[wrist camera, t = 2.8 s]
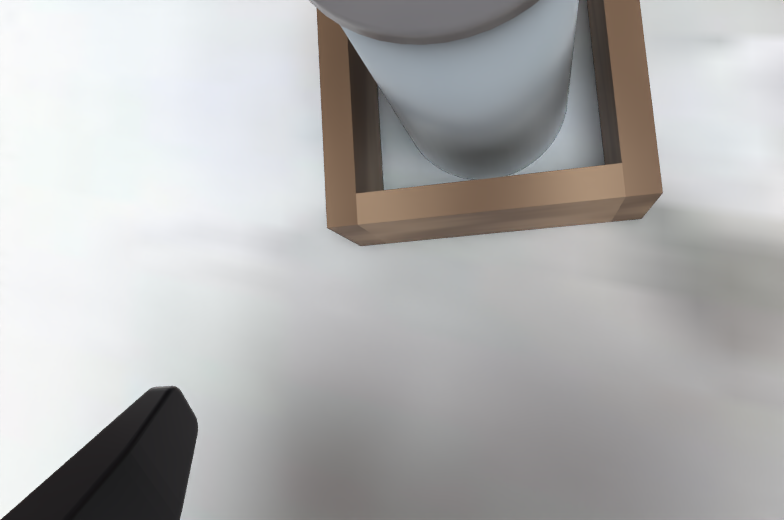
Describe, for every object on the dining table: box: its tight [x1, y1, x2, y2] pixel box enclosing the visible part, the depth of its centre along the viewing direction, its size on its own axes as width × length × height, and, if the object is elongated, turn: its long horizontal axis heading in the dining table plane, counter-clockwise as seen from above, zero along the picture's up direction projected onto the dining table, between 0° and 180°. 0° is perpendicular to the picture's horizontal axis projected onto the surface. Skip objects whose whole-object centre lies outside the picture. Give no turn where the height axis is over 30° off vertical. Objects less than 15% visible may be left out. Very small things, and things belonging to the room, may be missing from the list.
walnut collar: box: [317, 0, 663, 246], centre depth 22 cm, size 10×10×4 cm
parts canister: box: [309, 0, 579, 179], centre depth 18 cm, size 7×7×12 cm
